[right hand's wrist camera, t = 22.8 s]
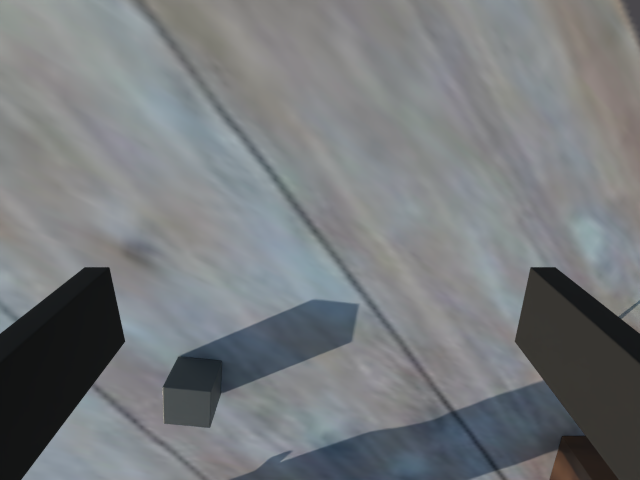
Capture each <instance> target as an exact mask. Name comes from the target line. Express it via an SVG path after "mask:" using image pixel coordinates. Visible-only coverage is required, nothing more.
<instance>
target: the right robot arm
mask: <svg viewBox="0 0 640 480" xmlns="http://www.w3.org/2000/svg"><path fill="white" fill-rule="evenodd" d="M124 342H125V339H124V334H123V329H122V325H121V320H120V315H119V311H118V306H117V301H116V296H115V292H114V287H113V282H112V278H111V273H110V268H109V267H85V268H83V269H82V270H81V271H80V272H78V273H77V274H76V275H74V276H73V277H72V278H71V279H69V280H68V281H67V282H66V283H64V284H63V285H62V286H60V287H59V288H58V289H57V290H55V291H54V292H53V293H52V294H50V295H49V296H48V297H46V298H45V299H44V300H43V301H41V302H40V303H39V304H38V305H36V306H35V307H34V308H32V309H31V310H30V311H29V312H27V313H26V314H25V315H24V316H22V317H21V318H20V319H18V320H17V321H16V322H15V323H13V324H12V325H11V326H10V327H8V328H7V329H6V330H4V331H3V332H2V333H1V334H0V480H21V479H22V478H23V477H24V475H25V474H26V473H27V471H28V470H29V469H30V467H31V466H32V465H33V463H34V462H35V461H36V459H37V458H38V457H39V455H40V454H41V453H42V451H43V450H44V449H45V447H46V446H47V445H48V443H49V442H50V441H51V439H52V438H53V437H54V435H55V434H56V433H57V431H58V430H59V429H60V427H61V426H62V425H63V423H64V422H65V421H66V419H67V418H68V417H69V415H70V414H71V413H72V411H73V410H74V409H75V407H76V406H77V405H78V404H79V402H80V401H81V400H82V398H83V397H84V396H85V394H86V393H87V392H88V390H89V389H90V388H91V386H92V385H93V384H94V382H95V381H96V380H97V378H98V377H99V376H100V374H101V373H102V372H103V370H104V369H105V368H106V366H107V365H108V364H109V362H110V361H111V360H112V358H113V357H114V356H115V354H116V353H117V352H118V350H119V349H120V348H121V346H122V345H123V344H124ZM515 342H516V344H517V345H518V346H519V348H520V349H521V350H522V352H523V353H524V354H525V356H526V357H527V358H528V360H529V361H530V362H531V364H532V365H533V366H534V368H535V369H536V370H537V372H538V373H539V374H540V376H541V377H542V378H543V380H544V381H545V382H546V384H547V385H548V386H549V388H550V389H551V390H552V392H553V393H554V394H555V396H556V397H557V398H558V400H559V401H560V402H561V404H562V405H563V406H564V407H565V409H566V410H567V411H568V413H569V414H570V415H571V417H572V418H573V419H574V421H575V422H576V423H577V425H578V426H579V427H580V429H581V430H582V431H583V433H584V434H585V435H586V437H587V438H588V439H589V441H590V442H591V443H592V445H593V446H594V447H595V449H596V450H597V451H598V453H599V454H600V455H601V457H602V458H603V459H604V461H605V462H606V463H607V465H608V466H609V467H610V469H611V470H612V471H613V473H614V474H615V475H616V477H617V478H618V479H619V480H640V334H639V333H638V332H637V331H636V330H634V329H633V328H632V327H630V326H629V325H628V324H627V323H625V322H624V321H623V320H622V319H620V318H619V317H618V316H616V315H615V314H614V313H613V312H611V311H610V310H609V309H608V308H606V307H605V306H604V305H602V304H601V303H600V302H599V301H597V300H596V299H595V298H594V297H592V296H591V295H590V294H588V293H587V292H586V291H585V290H583V289H582V288H581V287H580V286H578V285H577V284H576V283H574V282H573V281H572V280H571V279H569V278H568V277H567V276H566V275H564V274H563V273H562V272H560V271H559V270H558V269H557V268H555V267H531V268H530V273H529V278H528V282H527V287H526V292H525V296H524V301H523V306H522V311H521V315H520V320H519V325H518V329H517V334H516V339H515Z"/></svg>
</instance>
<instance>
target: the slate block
mask: <svg viewBox="0 0 640 480" xmlns="http://www.w3.org/2000/svg"><path fill="white" fill-rule="evenodd" d="M221 373H222V361H218V360H208V359H198V358H188V357H178V359H177V360H176V362H175V364H174V366H173V368H172V370H171V372H170V374H169V376H168V378H167V380H166V382H165V384H164V386H163V418H164V424H174V425H185V426H196V427H207V428H210V426H211V423H212V420H213V417H214V414H215V411H216V407H217V404H218V401H219V398H220V395H221Z"/></svg>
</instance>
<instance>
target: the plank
mask: <svg viewBox="0 0 640 480" xmlns="http://www.w3.org/2000/svg"><path fill="white" fill-rule="evenodd" d="M550 480H619V479H618V478H617V477H616V475H615V474H614V473H613V471H612V470H611V469H610V467H609V466H608V465H607V463H606V462H605V461H604V459H603V458H602V457H601V455H600V454H599V453H598V451H597V450H596V449H595V447H594V446H593V445H592V443H591V442H590V441H589V439H588V438H587V437H586V436H562V439H561V442H560V446H559V449H558V453H557V456H556V460H555V463H554V467H553V470H552V473H551V477H550Z"/></svg>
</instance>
